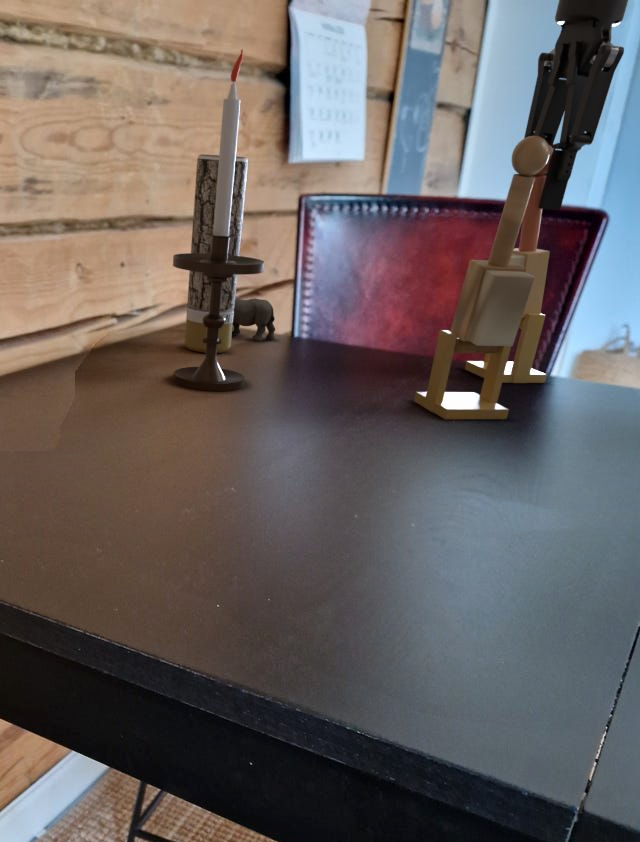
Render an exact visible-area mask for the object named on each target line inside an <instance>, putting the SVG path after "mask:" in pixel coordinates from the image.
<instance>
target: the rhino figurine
mask: <svg viewBox="0 0 640 842" xmlns="http://www.w3.org/2000/svg"><path fill="white" fill-rule="evenodd" d="M274 312H275V311H274V307H273V305H272V304H271V302H269V300H267V299H260V298H250V299H242V298H239V297H237V296H235V305H234V316H233V324H232V335H231V337H233V336H239V335H240V334H241V330H240V327H251V326H254V325H255V326H256V327H257V329H256V332H255V334H254V335H253V336H252V337H251V340H252V341H256V342H258V341H263V339H264V338H263V335H264V334H265V333H266V330H267V332H268V333H267V334H266V336H265V340H267V341H273V340H276V338H275V331H276V327H275V325H274V321H275V315H274Z"/></svg>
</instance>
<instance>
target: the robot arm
mask: <svg viewBox="0 0 640 842" xmlns="http://www.w3.org/2000/svg"><path fill="white" fill-rule="evenodd" d="M628 3H629V0H558V4H557V8H556V12H555V15H554V21H555V23H556V24H557V25H560V26H561V27H560V28H561V30H560V33H559V35H558V38H557V40H556V42H555V45H554V48H553V49H552V50H551V51H550V52H541V53H540V54H539V56H538V59H537V77H536V80H535V86H534V89H533V90H534V91H533V95H532V100H531V103H530V104H531V105H530V108H529V109H530V110H529V113H528V119H527V122H526V127H525V133H524V137H523V139H524V138H526V137H529V136H539V137H542V138H543V139H544V140H545V141H546V142H547V144H548V145H550V146H551V147H552V148H553V149H554V150H553V153H552V157H551V161H550V165H549V168H548V172H547V173H546V174H544V175H546V180H545V184H544V188H543V192H542V195H541V199H540V203H539V207H538V208H541V209H542V210H557V211H561V208H562V205H563V200H564V198H565V194H566V190H567V187H568V183H569V180H570V178H571V176H572V172H573V168H574V165H575V161H576V158H577V154H578V152H580V151H581V150H582V147H584V146H586V145H587V146H590V145H591V144H592V143H593V142H594V139H595V136H596V133H597V130H598V126H599V123H600V120H601V116H602V113H603V110H604V106H605V104H606V101H607V97H608V94H609V91H610V88H611V84H612V81H613V77H614V75H615V71H617V67H618V66H619V63H620V62H621V59H622V57H623V55H624V53H625V47H623V46H618V45H614V44H613V43H612V42H611V41H612V30H613V27H616V26H618V25H620V24H621V23H622V22H623V20H624V16H625V13H626V10H627V7H628ZM561 122H562V125H561ZM560 125H561V131H560V138H559V142H556V143H555V142H554V141H555V139H556V136H557V134H558V131H559V128H560ZM531 176H533V175H531Z"/></svg>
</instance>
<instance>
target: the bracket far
mask: <svg viewBox="0 0 640 842" xmlns="http://www.w3.org/2000/svg"><path fill="white" fill-rule="evenodd" d="M545 319H546V314H543V313H541V314H531V313H526V315H525V319H524V323H523V326H522V329H520V330H521V332H520V335H519V338H518V342H517V347H516V351H515V353H514V359H513V361H507V365H506V369H505V373H504V377H503V381H502V384H546V381H547V377H548V374H547V373H544V372H542V371H539V370H538V369H535V368H533V365H534V360H535V357H536V353H537V349H538V346H539V342H540V337H541V334H542V331H543V327H544V322H545ZM489 357H490V354H489V353H484V358H483V360H466V363H465V366H464V370H465V371H467V372H470V373H472V374H474V375H476V376H479V378H480V377H481V378H483V379H484V378H485V373H486V369H487V365H488V361H489Z"/></svg>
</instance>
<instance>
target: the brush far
mask: <svg viewBox="0 0 640 842" xmlns="http://www.w3.org/2000/svg"><path fill="white" fill-rule="evenodd" d="M548 146H549V151H550V153H549V158H548V161H547V163H546V165H545V166H544V167H543V169H542V170H540V171H539V172H538V173H536V174H534V175H533V176H534V177H535V180H534V184H533V187H532V190H531V193H530V197H529V200H528V203H527V206H526V210H525V213H524V216H523V220H522V223H521V228H520V229H521V231H520V238H519V246H518V247H514V249H513V252H512V256H511V259H510V261H512V262H514V263H516V264H518V265H520V266H522V267H524V268H526V272H525V273H527V274H529V275H531V276H533V277H535V279H534V282H533V285H532V288H531V291H530V294H529V297H528V300H527V303H526V306H525V309H524V313H523V316H522V319H521V322H520V325H519V328H518V329H520V330H522V326H523V323H524V319H525V315H526V313H531V314H542V306H543V298H544V292H545V287H546V281H547V280H546V279H547V273H548V267H549V266H548V265H549V259H550V254H551V253H550V250H545V249H541V248H538V242H539V235H540V228H541V222H542V214H543V209H541V208H538V207H539V203H540V199H541V195H542V192H543V188H544V184H545V180H546V175H544V174H546V173H547V172H548V168H549V165H550V161H551V157H552V153H553V150H554V149H553V148H552V147H551V146H550V145H548Z"/></svg>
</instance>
